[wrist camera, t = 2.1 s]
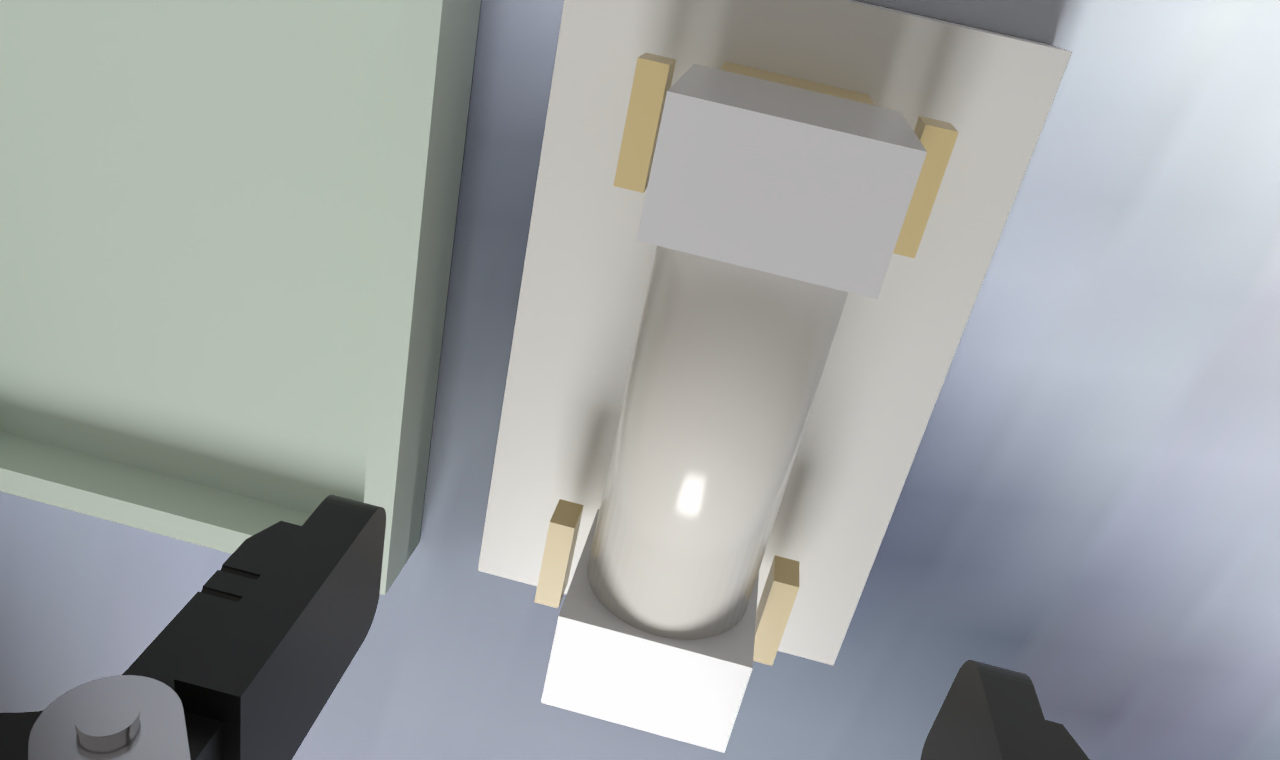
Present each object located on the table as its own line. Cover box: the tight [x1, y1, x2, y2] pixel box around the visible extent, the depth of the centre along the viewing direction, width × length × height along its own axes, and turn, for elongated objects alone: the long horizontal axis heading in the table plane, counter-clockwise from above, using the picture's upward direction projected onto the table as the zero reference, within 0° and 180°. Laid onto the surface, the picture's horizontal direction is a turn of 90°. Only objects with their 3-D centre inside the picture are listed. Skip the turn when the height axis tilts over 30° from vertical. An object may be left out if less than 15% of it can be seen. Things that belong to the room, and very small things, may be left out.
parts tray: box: [0, 0, 481, 595], centre depth 23 cm, size 14×18×2 cm
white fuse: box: [541, 64, 927, 753], centre depth 18 cm, size 13×4×4 cm, turn 168°
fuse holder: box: [478, 0, 1072, 666], centre depth 21 cm, size 10×16×4 cm, turn 169°
